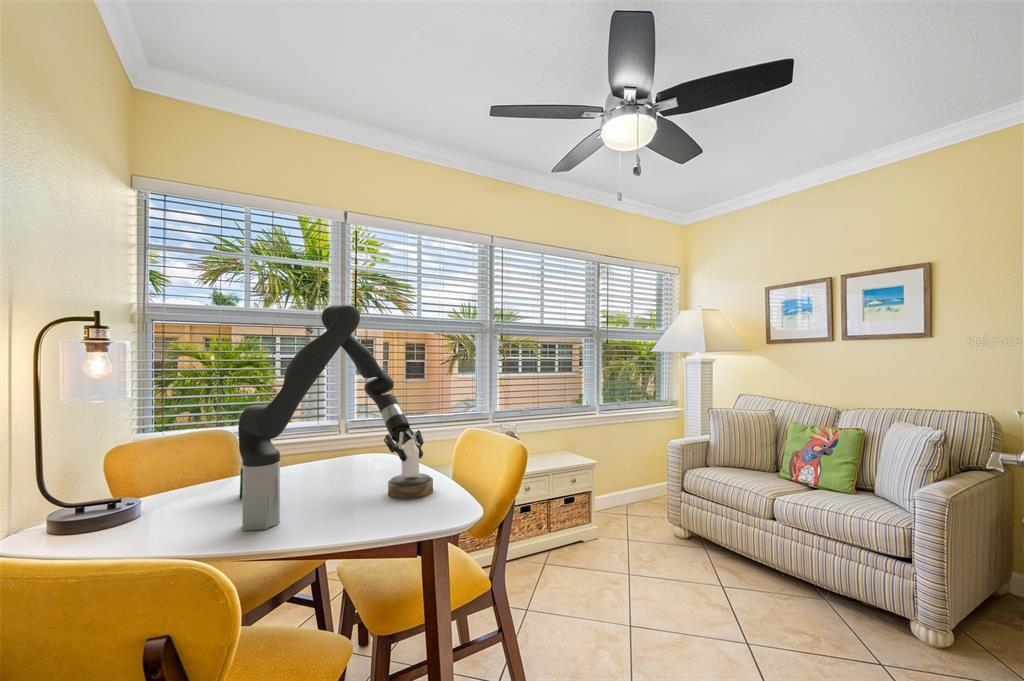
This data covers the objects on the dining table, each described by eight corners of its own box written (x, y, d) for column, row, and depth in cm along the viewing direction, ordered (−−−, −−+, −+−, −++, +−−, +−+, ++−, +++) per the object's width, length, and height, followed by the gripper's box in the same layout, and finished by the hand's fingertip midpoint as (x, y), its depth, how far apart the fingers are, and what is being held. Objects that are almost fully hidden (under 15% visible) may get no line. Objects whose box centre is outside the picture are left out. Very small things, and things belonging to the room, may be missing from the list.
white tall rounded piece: (403, 441, 153) (399, 438, 158) (403, 477, 153) (399, 473, 158) (420, 440, 156) (417, 437, 161) (420, 475, 155) (417, 471, 161)
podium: (432, 497, 150) (432, 483, 150) (386, 500, 148) (386, 485, 148) (432, 484, 165) (432, 471, 165) (390, 487, 163) (390, 473, 163)
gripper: (380, 415, 157) (398, 455, 149) (416, 411, 167) (435, 448, 159) (373, 428, 161) (390, 468, 152) (408, 424, 171) (426, 461, 162)
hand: (413, 458), depth 156 cm, fingers closed on white tall rounded piece, 5 cm apart
